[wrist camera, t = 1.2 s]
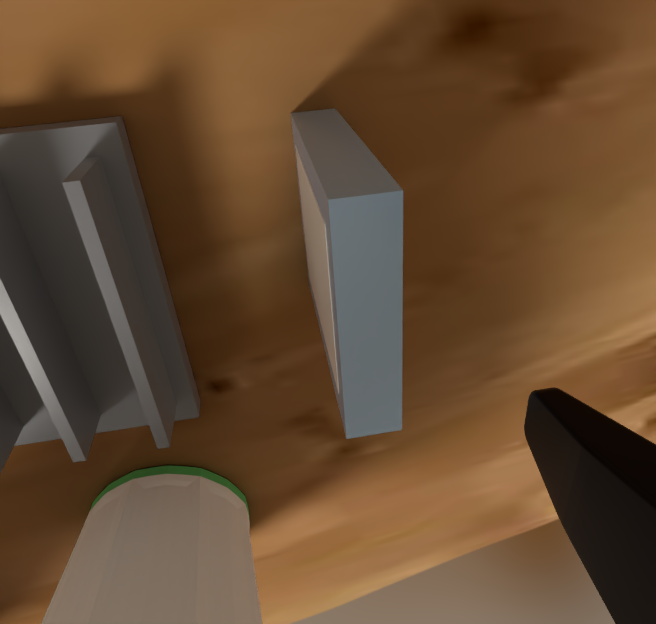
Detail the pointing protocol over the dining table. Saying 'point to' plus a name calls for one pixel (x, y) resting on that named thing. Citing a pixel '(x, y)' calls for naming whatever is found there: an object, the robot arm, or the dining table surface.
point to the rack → (83, 294)
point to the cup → (161, 554)
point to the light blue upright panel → (353, 267)
